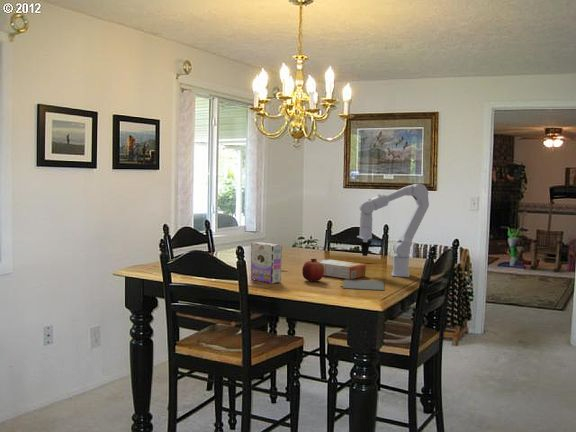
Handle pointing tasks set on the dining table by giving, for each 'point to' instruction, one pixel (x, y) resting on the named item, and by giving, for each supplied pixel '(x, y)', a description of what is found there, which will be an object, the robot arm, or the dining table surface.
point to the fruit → (313, 270)
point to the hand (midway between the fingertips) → (364, 255)
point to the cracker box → (343, 269)
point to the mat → (363, 285)
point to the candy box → (266, 262)
